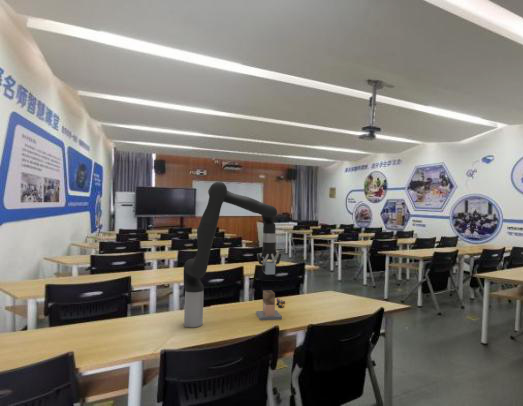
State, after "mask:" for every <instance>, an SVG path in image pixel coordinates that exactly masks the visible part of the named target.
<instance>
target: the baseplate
mask: <svg viewBox="0 0 523 406" xmlns="http://www.w3.org/2000/svg"><path fill="white" fill-rule="evenodd" d="M255 314H256V316H257V317H258V320H259V321H275V320H276V321H277V320H278V321H279V320H282V319H283V317H282V314H280V312H279V311H278V310H276V304H275V305H266V304H265V303H264V302H263V301H262V310H256V311H255Z"/></svg>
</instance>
